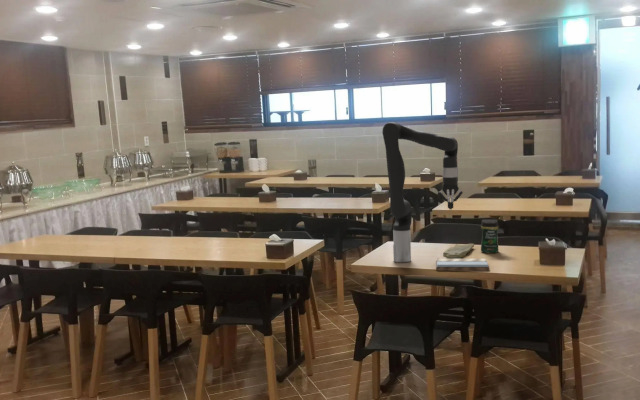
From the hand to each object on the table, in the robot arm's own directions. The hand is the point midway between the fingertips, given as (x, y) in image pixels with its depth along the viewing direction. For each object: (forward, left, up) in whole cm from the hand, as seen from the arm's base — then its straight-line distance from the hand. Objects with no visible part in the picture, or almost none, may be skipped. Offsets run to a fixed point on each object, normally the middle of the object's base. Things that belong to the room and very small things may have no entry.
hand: (450, 209), depth 321 cm
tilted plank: (+5, -11, -27) cm, 30 cm away
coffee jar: (+22, +28, -29) cm, 46 cm away
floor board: (+5, -8, -29) cm, 30 cm away
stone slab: (+5, +26, -30) cm, 40 cm away
